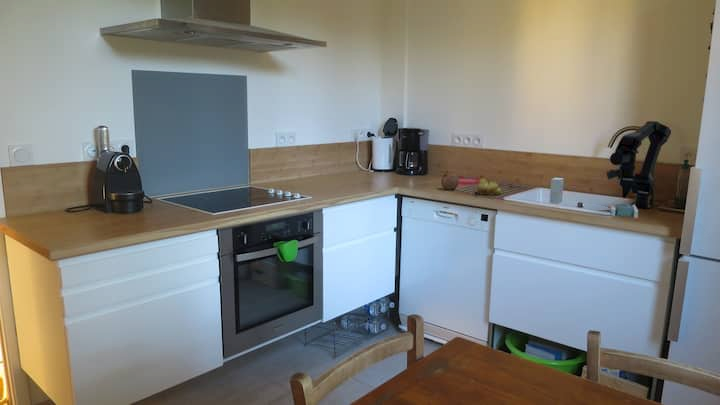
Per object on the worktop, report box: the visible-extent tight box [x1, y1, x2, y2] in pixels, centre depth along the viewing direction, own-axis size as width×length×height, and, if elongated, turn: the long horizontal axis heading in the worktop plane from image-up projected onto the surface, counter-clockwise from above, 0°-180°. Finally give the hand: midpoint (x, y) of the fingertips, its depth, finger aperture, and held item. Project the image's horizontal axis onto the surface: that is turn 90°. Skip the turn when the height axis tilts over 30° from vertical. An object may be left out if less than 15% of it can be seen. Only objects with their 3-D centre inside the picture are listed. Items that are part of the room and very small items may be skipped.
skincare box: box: [548, 177, 565, 205], centre depth 251 cm, size 6×4×12 cm
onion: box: [440, 173, 459, 191], centre depth 284 cm, size 10×9×10 cm
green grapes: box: [476, 177, 502, 196], centre depth 272 cm, size 13×10×8 cm
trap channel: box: [609, 202, 639, 219], centre depth 230 cm, size 15×10×3 cm, turn 157°
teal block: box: [615, 203, 633, 217], centre depth 229 cm, size 6×6×4 cm
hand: (624, 197), depth 235 cm, fingers closed
